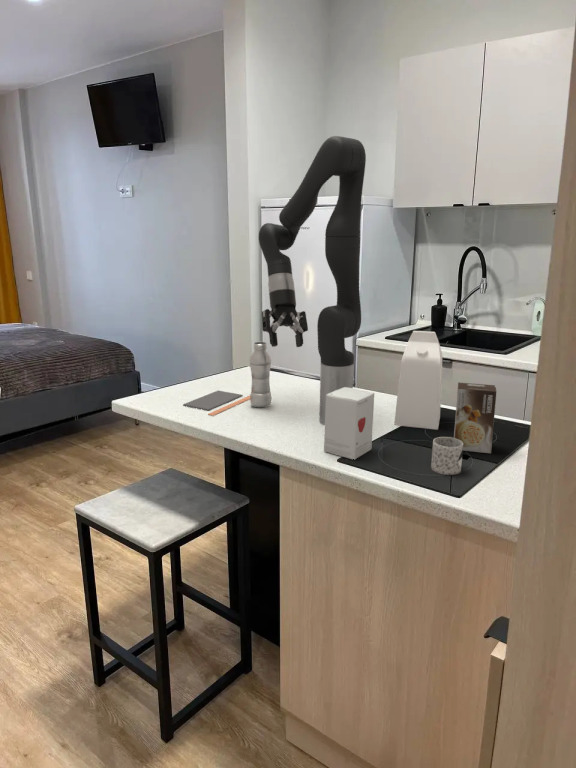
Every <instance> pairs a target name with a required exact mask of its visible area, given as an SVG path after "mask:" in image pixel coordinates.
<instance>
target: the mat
mask: <svg viewBox="0 0 576 768" xmlns="http://www.w3.org/2000/svg"><path fill="white" fill-rule="evenodd" d="M241 397H244V396H243V394H242V393H241V394H239V393H234V392H229V391H223V390H216V391H214V392H210V393H208V394H206V395H203V396H201V397H197V398H195V399H193V400H190V401H187V402H185V403H183V404H182V407H186V406H187V408H191V407H192V409H196V408H197V409H196V410H201V409H202V410H203V411H206V412H207V411H208V412H211V411H212V410H215V409H217V408H219V407H221V406H223V405H224V406H225V405H227V404H229V403H230V402H231V403H232V402H233V401H235V400H239V398H241ZM202 410H201V411H202Z"/></svg>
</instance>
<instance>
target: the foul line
mask: <svg viewBox="0 0 576 768" xmlns="http://www.w3.org/2000/svg"><path fill="white" fill-rule="evenodd" d="M249 400H250V395H248V396H246V397H243V398H241V399H237V400H236V401H234V402H231V403H230V404H229V403H228V404H226V405H224V406H223V407H221V408H218V409H216V410H213V411H210V412H209V413H208V414H207V415H208V416H212V417H215V416H216V415H218V414H221V413H223V412H225V411H228V410H229V409H232V408H234V407H237V406H239V405H241V404H243V403H245V402H248V401H249ZM236 405H237V406H236ZM227 409H228V410H227Z"/></svg>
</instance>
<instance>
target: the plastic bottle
mask: <svg viewBox="0 0 576 768" xmlns="http://www.w3.org/2000/svg"><path fill="white" fill-rule="evenodd" d="M267 349H268V347H267V342H265V341H255V342H254V343H253V350H254V351H253V352H252V353H251V355H250V357H249V367H250V374H251V388H250V390H251V391H250V394H249V396H250V404H251V405H252V406H253V407H257V408H266V407H269V406H270V405H271V404H272V400H273V397H272V392H271V386H270V372H271V366H272V359H271V356H270V354H269V353H268V352H267Z"/></svg>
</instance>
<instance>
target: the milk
mask: <svg viewBox="0 0 576 768" xmlns="http://www.w3.org/2000/svg"><path fill="white" fill-rule="evenodd" d="M442 377H443V352H442V349H441V345H440V341H439V339H438V336H437V334H436V332H435V331H424V330H423V331H422V330H413V331H412V333H411V334H410V337H409V339H408V341H407V344H406V346H405V349H404V352H403V354H402V357H401V361H400V369H399V378H398V388H397V396H396V405H395V412H394V414H395V415H394V422H393V423H394V426H401V427H409V428H410V427H411V428H418V429H419V428H420V429H428V430H437V431H438V430H439V425H440V419H441V406H442V405H441V403H442V382H443V381H442V380H443V379H442Z"/></svg>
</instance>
